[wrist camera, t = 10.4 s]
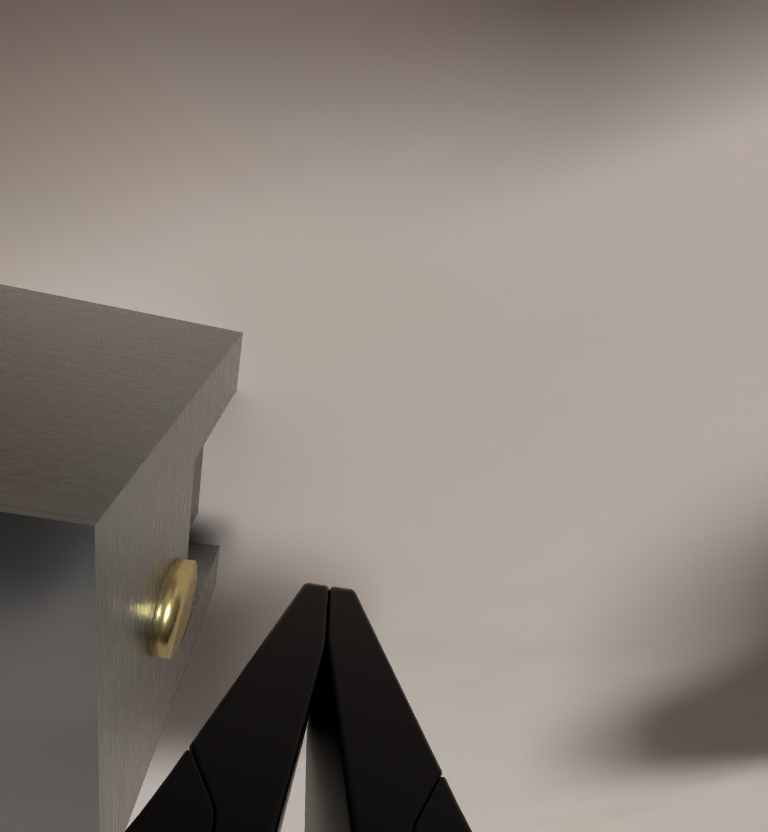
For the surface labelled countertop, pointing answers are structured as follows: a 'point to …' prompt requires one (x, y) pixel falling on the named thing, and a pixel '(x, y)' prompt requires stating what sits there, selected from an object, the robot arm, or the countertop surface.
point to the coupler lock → (97, 546)
